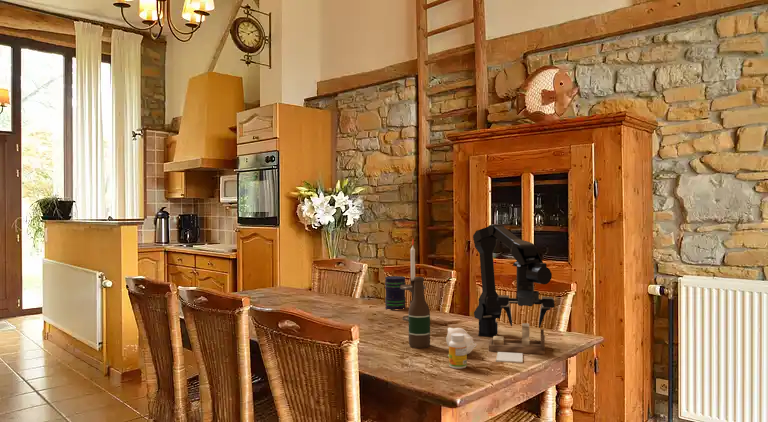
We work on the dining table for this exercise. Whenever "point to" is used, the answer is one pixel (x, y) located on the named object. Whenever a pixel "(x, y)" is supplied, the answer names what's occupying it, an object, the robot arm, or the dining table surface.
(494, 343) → the offcut stack
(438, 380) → the dining table surface
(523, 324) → the birch sheet
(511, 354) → the felt pad
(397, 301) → the storage jar
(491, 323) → the robot arm
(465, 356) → the supplement bottle
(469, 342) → the cat figurine
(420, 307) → the beer bottle
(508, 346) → the rack
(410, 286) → the candlestick
